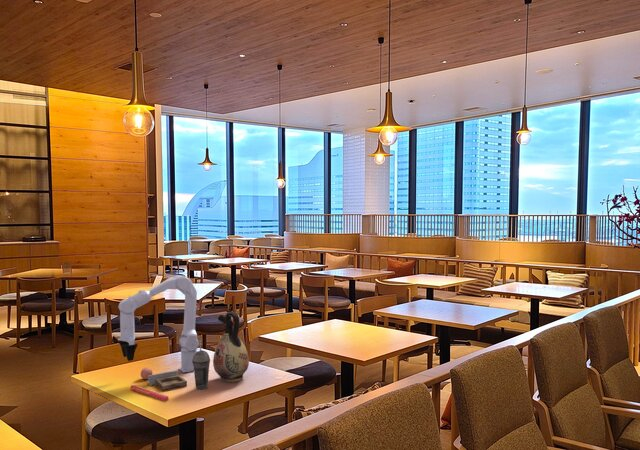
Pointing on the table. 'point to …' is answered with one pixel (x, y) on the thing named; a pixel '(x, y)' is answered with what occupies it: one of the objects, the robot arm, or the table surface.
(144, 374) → the ball
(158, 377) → the partition
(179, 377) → the tray
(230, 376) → the ceramic jug
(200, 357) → the beverage cup
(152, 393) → the pink long bar
